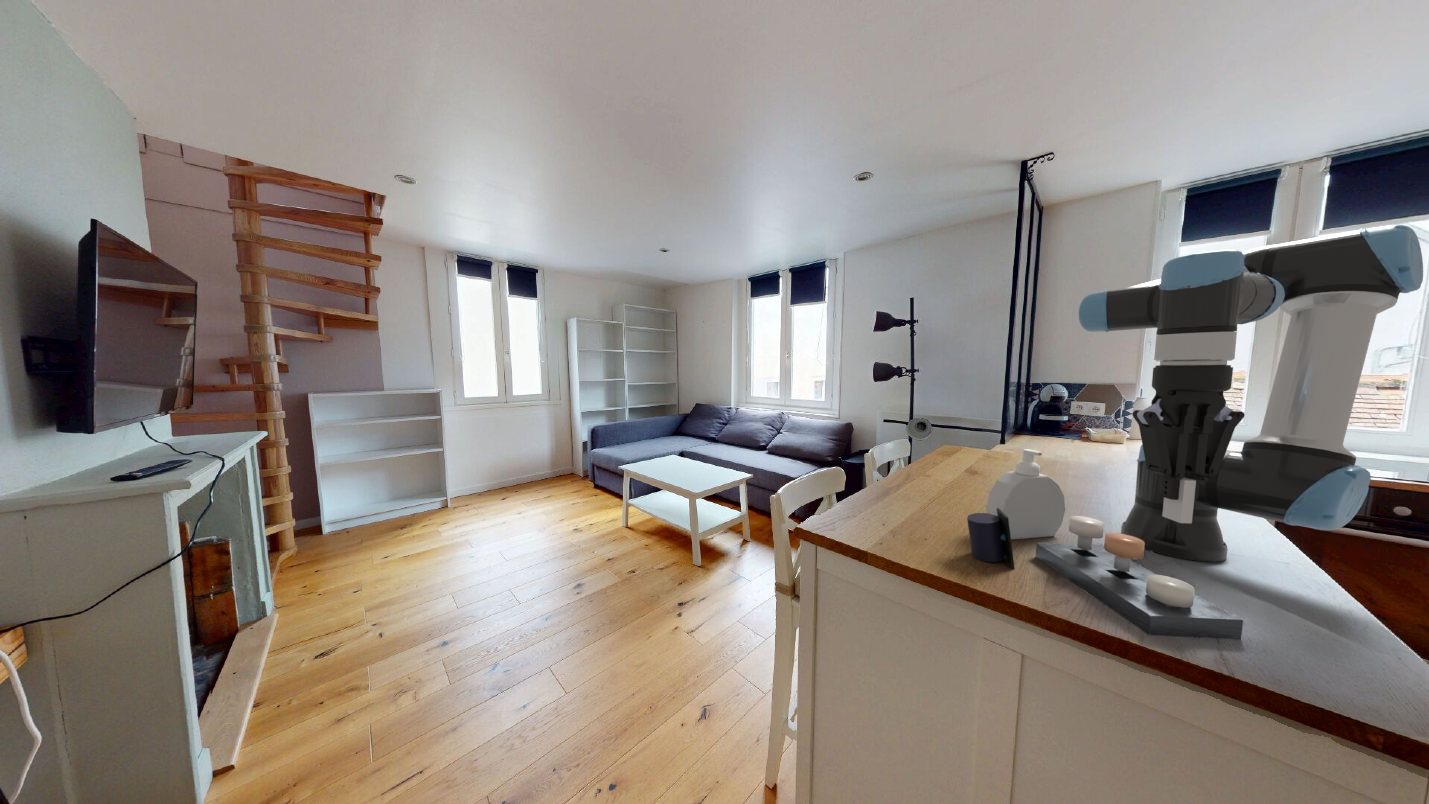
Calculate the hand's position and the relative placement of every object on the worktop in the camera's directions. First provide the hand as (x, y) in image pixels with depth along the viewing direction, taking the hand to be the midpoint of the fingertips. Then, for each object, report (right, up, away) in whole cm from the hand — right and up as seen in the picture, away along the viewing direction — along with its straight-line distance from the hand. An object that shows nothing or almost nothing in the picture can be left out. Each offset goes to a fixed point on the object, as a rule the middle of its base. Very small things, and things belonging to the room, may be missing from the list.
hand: (1176, 519), depth 61 cm
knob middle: (+1, -11, +9) cm, 14 cm away
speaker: (-14, -15, +21) cm, 29 cm away
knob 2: (0, -15, +1) cm, 16 cm away
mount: (+1, -15, +9) cm, 18 cm away
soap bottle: (+2, -13, +33) cm, 35 cm away
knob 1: (+2, -10, +17) cm, 20 cm away
